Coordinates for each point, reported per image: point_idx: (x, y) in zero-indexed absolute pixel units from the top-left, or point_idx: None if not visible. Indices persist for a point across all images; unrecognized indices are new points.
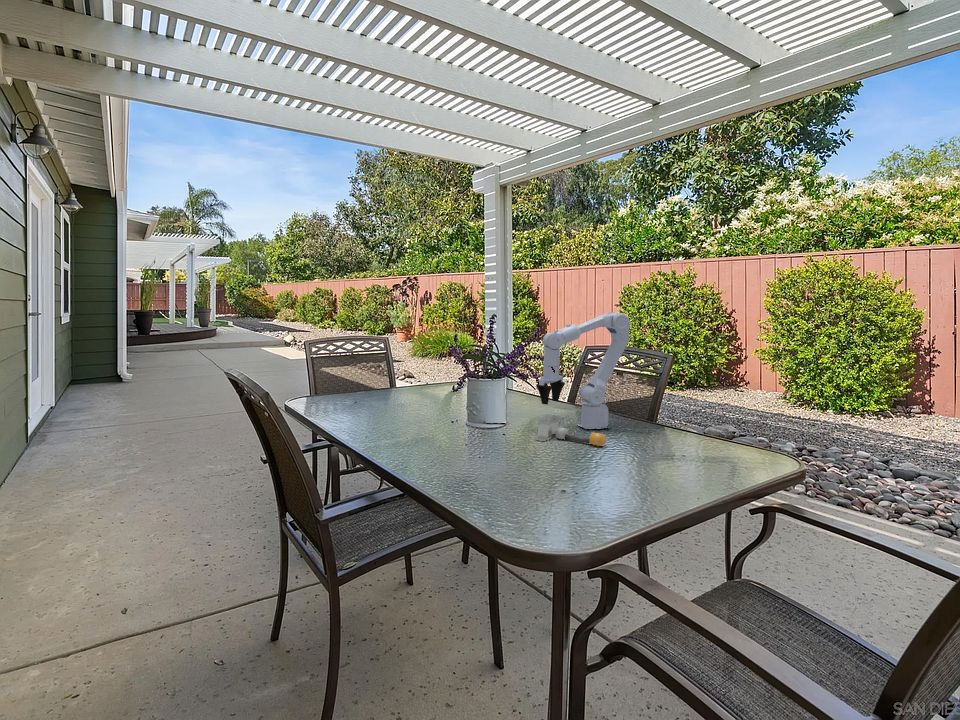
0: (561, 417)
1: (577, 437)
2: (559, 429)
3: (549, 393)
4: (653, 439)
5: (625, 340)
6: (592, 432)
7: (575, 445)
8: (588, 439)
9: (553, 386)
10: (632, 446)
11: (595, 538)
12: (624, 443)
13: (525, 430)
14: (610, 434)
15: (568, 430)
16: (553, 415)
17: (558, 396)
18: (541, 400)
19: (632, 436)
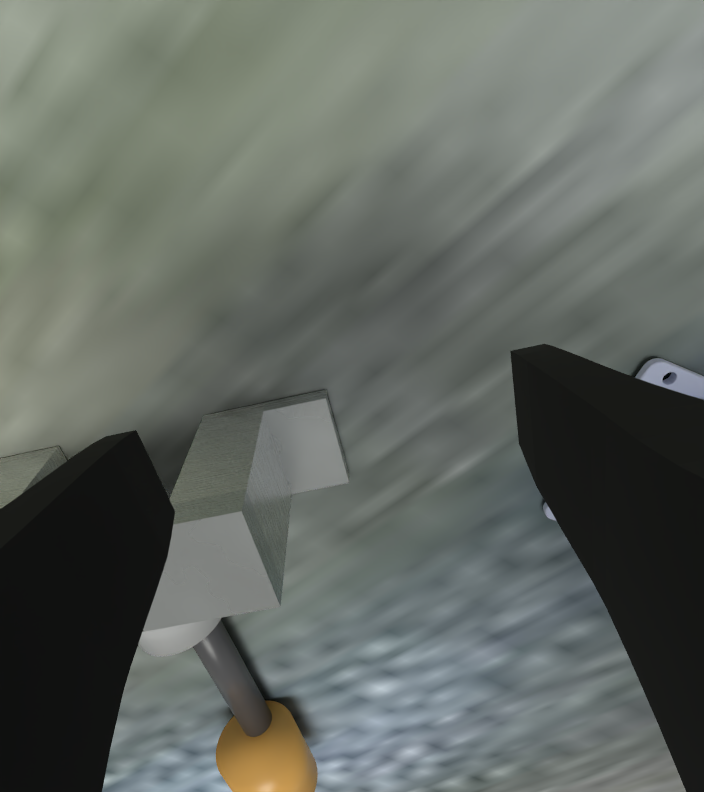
0: (229, 610)
1: (211, 675)
2: None
3: (107, 739)
4: (642, 772)
5: None
6: (250, 785)
7: (159, 669)
8: (240, 723)
9: (698, 582)
10: (424, 787)
11: None
12: (444, 752)
13: (52, 170)
14: (577, 632)
15: (215, 625)
16: (219, 515)
17: (559, 522)
18: (65, 471)
19: (627, 706)
